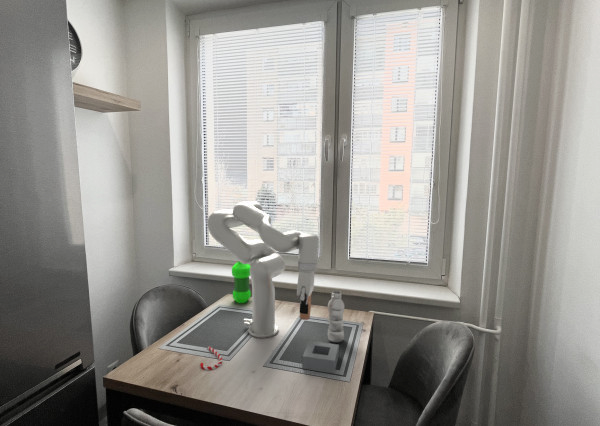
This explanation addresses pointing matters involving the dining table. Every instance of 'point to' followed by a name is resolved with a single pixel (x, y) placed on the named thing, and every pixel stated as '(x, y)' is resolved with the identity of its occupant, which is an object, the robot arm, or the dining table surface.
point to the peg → (307, 316)
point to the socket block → (320, 357)
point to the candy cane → (214, 365)
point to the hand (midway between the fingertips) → (305, 310)
